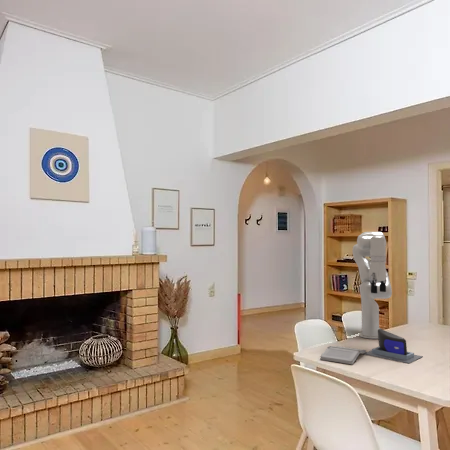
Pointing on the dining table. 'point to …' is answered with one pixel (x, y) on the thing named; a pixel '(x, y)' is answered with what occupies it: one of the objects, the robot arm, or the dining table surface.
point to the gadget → (341, 354)
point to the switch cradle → (393, 355)
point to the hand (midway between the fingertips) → (378, 292)
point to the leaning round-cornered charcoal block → (391, 342)
